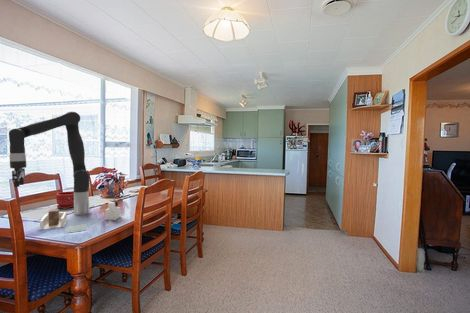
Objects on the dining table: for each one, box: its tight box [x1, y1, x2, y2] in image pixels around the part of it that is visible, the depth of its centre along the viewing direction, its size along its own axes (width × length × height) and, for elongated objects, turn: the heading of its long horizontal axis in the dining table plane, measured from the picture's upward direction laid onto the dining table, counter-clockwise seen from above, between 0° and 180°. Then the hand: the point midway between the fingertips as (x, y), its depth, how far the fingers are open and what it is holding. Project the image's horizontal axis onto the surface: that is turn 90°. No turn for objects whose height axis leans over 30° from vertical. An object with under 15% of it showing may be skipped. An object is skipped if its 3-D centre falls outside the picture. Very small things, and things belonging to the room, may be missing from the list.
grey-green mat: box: [65, 223, 88, 234], centre depth 139 cm, size 10×10×1 cm
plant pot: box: [56, 191, 74, 209], centre depth 186 cm, size 13×13×12 cm
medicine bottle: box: [104, 200, 121, 221], centre depth 161 cm, size 7×7×12 cm
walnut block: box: [48, 208, 60, 226], centre depth 144 cm, size 4×4×9 cm
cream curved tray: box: [39, 211, 68, 230], centre depth 145 cm, size 12×16×6 cm
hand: (19, 185), depth 145 cm, fingers open, 8 cm apart
